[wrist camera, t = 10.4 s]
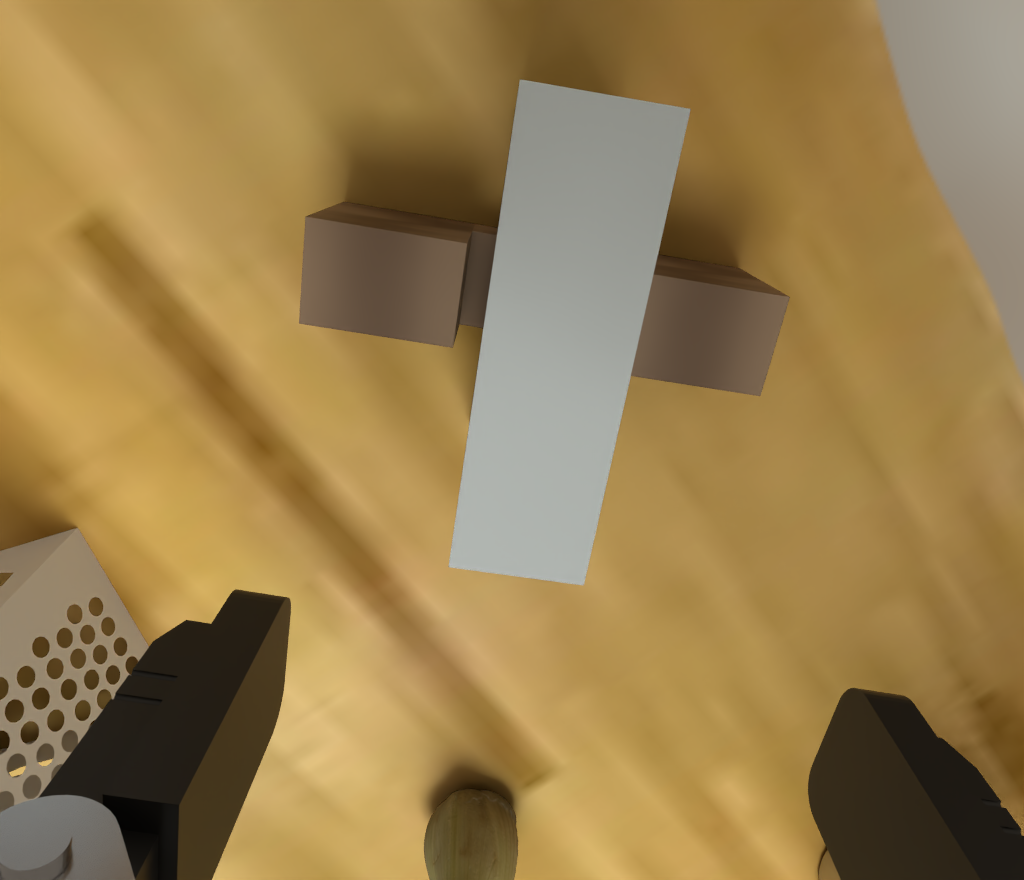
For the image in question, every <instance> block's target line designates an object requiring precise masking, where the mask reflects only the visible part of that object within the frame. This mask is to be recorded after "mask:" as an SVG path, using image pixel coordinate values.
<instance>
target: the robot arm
mask: <svg viewBox="0 0 1024 880" xmlns="http://www.w3.org/2000/svg"><path fill="white" fill-rule="evenodd" d="M290 614H291V602H290V599H289V598H287V597H281V596H274V595H268V594H262V593H255V592H249V591H243V590H234V591H233V592H232V593H231V594H230V596H229V597H228V599H227V600H226V602H225V604H224V605H223V607H222V608H221V610H220V611H219V613H218V614H217V616H216V618H215V619H214V621H213V622H212V624H209V623H202V622H196V621H189V620H186V621H184V622H183V623H181V624H179V625H178V626H176V627H175V628H173V629H172V630H170V631H169V632H167V633H165V634H164V635H162V636H161V637H159V638H158V639H156V640H155V641H153V642H152V644H151V645H150V646H149V648H148V649H147V651H146V652H145V653H144V655H143V656H142V657H141V659H140V660H139V661H138V663H137V664H136V666H135V667H134V668H133V671H132V674H131V675H128V676H127V678H126V679H125V681H124V682H123V683H122V685H121V686H120V687H119V689H118V690H117V691H116V693H115V697H114V699H111V700H110V701H109V702H108V704H107V705H106V706H105V708H104V709H103V710H102V712H101V713H100V715H99V716H98V717H97V719H96V720H95V721H94V723H93V724H92V725H91V727H90V728H89V730H88V731H87V732H86V734H85V735H84V736H83V738H82V739H81V740H80V742H79V743H78V745H77V746H76V747H75V749H74V750H73V751H72V753H71V754H70V755H69V757H68V758H67V759H66V761H65V762H64V764H63V765H62V766H61V768H60V769H59V770H58V772H57V773H56V774H55V776H54V777H53V779H52V780H51V781H50V783H49V784H48V785H47V787H46V788H45V789H44V791H43V792H42V793H41V794H40V796H39V797H38V798H36V799H32V800H28V801H25V802H22V803H20V804H17V805H14V806H12V807H10V808H8V809H6V810H4V811H2V812H0V880H212V878H213V875H214V873H215V870H216V868H217V866H218V863H219V861H220V858H221V856H222V854H223V851H224V849H225V847H226V844H227V842H228V839H229V837H230V835H231V832H232V830H233V827H234V825H235V823H236V820H237V818H238V815H239V813H240V811H241V808H242V806H243V803H244V801H245V799H246V796H247V794H248V791H249V789H250V787H251V784H252V782H253V779H254V777H255V775H256V772H257V770H258V767H259V765H260V763H261V760H262V758H263V755H264V753H265V751H266V748H267V746H268V744H269V741H270V739H271V736H272V734H273V731H274V728H275V725H276V722H277V719H278V715H279V711H280V707H281V702H282V697H283V691H284V682H285V671H286V659H287V648H288V636H289V625H290ZM808 795H809V803H810V808H811V812H812V814H813V817H814V820H815V822H816V824H817V826H818V829H819V831H820V833H821V836H822V838H823V840H824V842H825V845H826V847H827V851H826V853H825V855H824V857H823V858H822V861H821V865H820V869H819V880H1024V836H1022V835H1021V828H1020V827H1019V826H1018V824H1017V823H1016V822H1015V820H1014V819H1013V817H1012V816H1011V815H1010V813H1009V812H1008V811H1007V809H1006V808H1001V805H1000V803H1001V801H1000V800H999V798H998V797H997V796H996V794H995V793H994V791H993V790H992V789H991V787H990V786H989V785H988V783H987V782H986V781H985V779H984V778H983V776H982V775H981V774H980V772H979V771H978V770H977V768H976V767H974V766H973V765H972V764H971V763H970V762H969V761H968V760H966V759H965V758H964V757H963V756H962V755H961V754H960V753H958V752H957V751H956V750H955V749H954V748H953V747H952V746H950V745H949V744H948V743H947V742H946V741H945V740H944V739H942V738H938V737H937V736H936V734H935V733H934V732H933V730H932V729H931V727H930V726H929V725H928V723H927V722H926V720H925V719H924V717H923V716H922V715H921V713H920V712H919V710H918V709H917V708H916V706H915V705H914V703H913V702H912V701H911V700H910V699H909V698H907V697H905V696H901V695H895V694H889V693H882V692H876V691H870V690H863V689H857V688H850V689H848V690H847V691H846V692H844V694H843V695H842V696H841V698H840V700H839V703H838V705H837V707H836V710H835V712H834V715H833V717H832V719H831V722H830V724H829V726H828V729H827V731H826V734H825V736H824V738H823V741H822V743H821V746H820V748H819V750H818V753H817V755H816V757H815V760H814V762H813V765H812V767H811V771H810V775H809V783H808Z"/></svg>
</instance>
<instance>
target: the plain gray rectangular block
mask: <svg viewBox="0 0 1024 880" xmlns="http://www.w3.org/2000/svg"><path fill="white" fill-rule="evenodd" d="M689 114H690V109H687V108H682V107H676V106H670V105H665V104H659V103H653V102H647V101H642V100H636V99H630V98H624V97H619V96H613V95H607V94H601V93H596V92H590V91H584V90H578V89H573V88H567V87H561V86H556V85H550V84H544V83H538V82H533V81H527V80H521V79H520V82H519V89H518V95H517V101H516V108H515V115H514V122H513V129H512V135H511V142H510V149H509V156H508V163H507V170H506V177H505V183H504V190H503V197H502V204H501V211H500V218H499V225H498V231H497V238H496V245H495V252H494V259H493V266H492V273H491V279H490V286H489V293H488V300H487V307H486V314H485V320H484V327H483V334H482V341H481V348H480V354H479V361H478V368H477V375H476V382H475V389H474V395H473V402H472V409H471V416H470V423H469V430H468V437H467V444H466V450H465V457H464V464H463V471H462V478H461V485H460V492H459V499H458V506H457V513H456V519H455V526H454V533H453V540H452V547H451V554H450V561H449V567H451V568H459V569H466V570H474V571H481V572H488V573H496V574H503V575H511V576H518V577H525V578H533V579H540V580H547V581H555V582H562V583H570V584H577V585H584V582H585V578H586V573H587V569H588V564H589V560H590V555H591V551H592V546H593V542H594V537H595V533H596V528H597V524H598V520H599V515H600V511H601V506H602V502H603V497H604V493H605V488H606V484H607V479H608V475H609V470H610V466H611V462H612V457H613V453H614V448H615V444H616V439H617V435H618V430H619V426H620V421H621V417H622V412H623V408H624V404H625V399H626V395H627V390H628V386H629V381H630V377H631V372H632V368H633V363H634V359H635V354H636V350H637V346H638V341H639V337H640V332H641V328H642V323H643V319H644V314H645V310H646V305H647V301H648V296H649V292H650V288H651V283H652V279H653V274H654V270H655V265H656V261H657V256H658V252H659V247H660V243H661V239H662V234H663V230H664V225H665V221H666V216H667V212H668V207H669V203H670V198H671V194H672V189H673V185H674V181H675V176H676V172H677V167H678V163H679V158H680V154H681V149H682V145H683V140H684V136H685V131H686V127H687V123H688V118H689Z"/></svg>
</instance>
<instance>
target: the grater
mask: <svg viewBox="0 0 1024 880" xmlns="http://www.w3.org/2000/svg"><path fill="white" fill-rule="evenodd" d="M0 573H13V574H12V575H11V576H10V577H9V579H8V580H7V581H6V582H5V583H4V584H3V585H2V586H0V677H3V678H4V679H6V680H7V682H8V685H9V689H8V693H7V695H6V696H5V698H3V699H1V700H0V731H5V732H7V733H8V735H9V737H10V745H9V747H8V748H6V749H2V750H1V749H0V812H2V811H4V810H6V809H8V808H10V807H12V806H14V805H17V804H20V803H22V802H25V801H28V800H32V799H36V798H38V797H39V796H40V794H41V793H42V792H43V791H44V789H45V788H46V787H47V785H48V784H49V783H50V781H51V780H52V779H53V777H54V776H55V774H56V773H57V772H58V770H59V769H60V768H61V766H62V765H63V764H64V762H65V761H66V759H67V758H68V757H69V755H70V754H71V753H72V751H73V750H74V749H75V747H76V746H77V745H78V743H79V742H80V740H81V739H82V738H83V736H84V735H85V734H86V732H87V731H88V730H89V728H90V727H91V726H90V724H91V722H93V721H94V720H96V719H97V717H98V716H99V715H100V713H101V712H102V710H103V709H101V708H100V707H99V706H98V704H97V696H98V694H99V692H100V691H101V690H103V689H107V690H108V691H109V692H110V693H111V696H112V699H114V697H115V693H116V691H117V690H118V689H119V687H120V686H121V685H122V683H123V682H124V681H125V679H126V678H127V676H128V675H130V674H129V673H128V672H127V670H126V667H125V666H126V661H127V659H128V658H129V657H130V656H134V657H135V658H136V659H137V660H138V661H139V660H140V659H141V657H142V656H143V655H144V653H145V652H146V651H147V649H148V648H149V646H148V644H147V643H146V641H145V639H144V638H143V636H142V634H141V633H140V631H139V629H138V628H137V626H136V624H135V623H134V621H133V619H132V618H131V616H130V614H129V613H128V611H127V609H126V607H125V606H124V604H123V602H122V601H121V599H120V597H119V596H118V594H117V592H116V591H115V589H114V587H113V586H112V584H111V582H110V581H109V579H108V577H107V576H106V574H105V572H104V571H103V569H102V567H101V566H100V564H99V562H98V561H97V559H96V557H95V556H94V554H93V552H92V551H91V549H90V547H89V546H88V544H87V542H86V541H85V539H84V537H83V536H82V534H81V532H80V531H79V529H78V528H75V529H71V530H68V531H65V532H62V533H58V534H55V535H52V536H48V537H45V538H42V539H38V540H35V541H32V542H29V543H25V544H22V545H19V546H15V547H12V548H9V549H5V550H2V551H0ZM94 597H97V598H99V599H100V600H101V601H102V603H103V611H102V613H101V615H99V616H93V615H92V614H91V613H90V610H89V602H90V600H91V599H92V598H94ZM73 604H76V605H78V606H79V607H80V608H81V610H82V612H83V615H82V619H81V621H80V622H79V623H77V624H72V623H71V622H70V621H69V620H68V617H67V610H68V608H69V606H71V605H73ZM106 617H110V618H112V619H113V620H114V623H115V631H114V633H113V634H112V635H111V636H106V635H105V634H104V633H103V632H102V629H101V623H102V621H103V619H104V618H106ZM85 625H91V626H92V627H93V628H94V631H95V639H94V641H93V643H91V644H84V643H83V642H82V641H81V638H80V631H81V629H82V627H83V626H85ZM62 628H68V629H69V630H70V631H71V632H72V635H73V642H72V644H71V645H70V646H69V647H68V648H62V647H60V646H59V645H58V642H57V633H58V632H59V630H60V629H62ZM38 637H45V638H46V639H47V640H48V642H49V644H50V649H49V652H48V654H47V656H45V657H43V658H38V657H37V656H35V655H34V653H33V650H32V644H33V642H34V640H35V639H36V638H38ZM119 637H122V638H124V639H125V640H126V642H127V651H126V653H125V654H124V655H123V656H118V655H117V654H116V653H115V651H114V642H115V640H116V639H117V638H119ZM98 645H103V646H104V647H105V648H106V650H107V652H108V655H107V660H106V661H105V663H103V664H97V663H96V662H95V661H94V658H93V650H94V649H95V647H96V646H98ZM75 649H82V650H83V651H84V652H85V655H86V663H85V664H84V666H83V667H82V668H80V669H75V668H74V667H73V666H72V664H71V662H70V656H71V653H72V652H73V650H75ZM53 658H58V659H60V660H61V661H62V663H63V666H64V669H63V673H62V675H61V677H59V678H58V679H52V678H50V677H49V676H48V674H47V671H46V670H47V664H48V662H49V661H50V660H51V659H53ZM111 665H116V666H117V667H118V668H119V671H120V679H119V681H118V682H117V683H116V684H115V685H112V684H110V683H108V682H107V679H106V671H107V669H108V667H110V666H111ZM24 666H30V667H31V668H32V669H34V672H35V681H34V683H33V684H32V686H30V687H28V688H22V687H21V686H20V685H19V684H18V682H17V673H18V671H19V670H20V668H22V667H24ZM90 669H91V670H95V671H96V672H97V673H98V675H99V684H98V686H97V687H96V688H95V689H93V690H89V689H88V688H87V687H86V686H85V683H84V676H85V674H86V672H87V671H89V670H90ZM67 679H72V680H73V681H75V682H76V685H77V693H76V695H75V697H74V698H72V699H71V700H66V699H64V698H63V697H62V694H61V685H62V683H63V682H64V681H65V680H67ZM38 688H45V689H46V690H48V692H49V695H50V700H49V703H48V705H47V707H46V708H44V709H42V710H37V709H36V708H35V707H34V706H33V703H32V695H33V693H34V691H35V690H36V689H38ZM13 699H17V700H20V701H21V702H22V703H23V706H24V714H23V716H22V718H21V720H19V721H17V722H10V721H8V720H7V719H6V716H5V707H6V706H7V704H8V702H10V701H11V700H13ZM81 700H86V701H87V702H88V703H89V704H90V707H91V713H90V715H89V717H88V719H86V720H85V721H80V720H78V719H77V718H76V715H75V707H76V705H77V703H78V702H79V701H81ZM53 710H60V711H61V712H62V713H63V715H64V725H63V726H62V728H61V729H60V730H59V731H57V732H53V731H51V730H50V729H49V727H48V725H47V718H48V716H49V714H50V712H52V711H53ZM28 721H34V722H35V723H36V724H37V725H38V727H39V736H38V738H37V740H35V741H32V742H28V743H24V742H23V741H22V739H21V736H20V734H21V729H22V727H23V725H24V724H25V723H27V722H28ZM68 730H72V731H69V732H67V731H68ZM49 759H53V760H52V762H51V763H50V764H49V765H48V766H41V765H39V764H38V762H42V761H46V760H49ZM58 764H59V765H58ZM23 766H26V769H25V770H24V772H23V774H21V775H17V776H14V777H11V775H10V774H9V772H11V771H13V770H16V769H18V768H20V767H23Z"/></svg>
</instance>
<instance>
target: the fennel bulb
mask: <svg viewBox="0 0 1024 880" xmlns="http://www.w3.org/2000/svg"><path fill="white" fill-rule="evenodd" d="M424 855H425V863H426V867H427V871H428V875H429V879H430V880H514V877H515V871H516V865H517V856H518V837H517V829H516V815H515V812H514V810H513V809H512V807H511V805H510V804H509V803H508V802H507V801H506V800H505V798H504V797H502V796H501V795H498V794H496V793H494V792H491V791H489V790H482V791H479V790H475V789H463V790H459V791H455V792H453V793H452V794H451V795H450V796H449V797H448V798H447V799H446V800H445V801H444V802H442V803H441V804H440V805H439V806H438V808H437V809H436V810H435V812H434V813H433V815H432V816H431V818H430V820H429V823H428V825H427V829H426V834H425V839H424Z"/></svg>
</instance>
